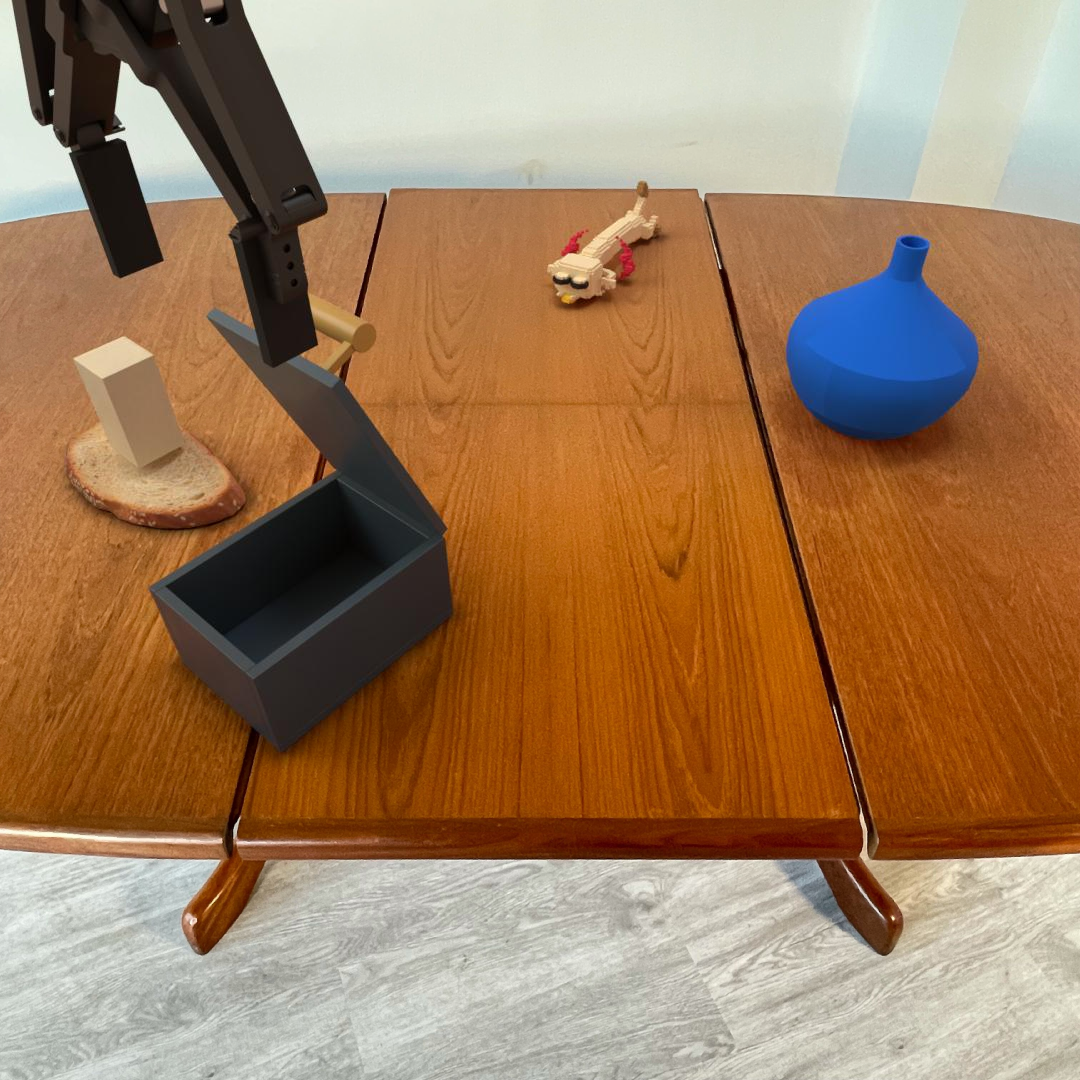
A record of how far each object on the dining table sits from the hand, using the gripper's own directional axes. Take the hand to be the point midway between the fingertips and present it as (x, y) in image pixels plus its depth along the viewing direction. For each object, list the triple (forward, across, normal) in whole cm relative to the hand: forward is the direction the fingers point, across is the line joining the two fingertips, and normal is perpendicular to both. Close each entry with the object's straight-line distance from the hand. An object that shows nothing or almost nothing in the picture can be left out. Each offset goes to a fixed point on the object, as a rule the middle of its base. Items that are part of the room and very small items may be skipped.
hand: (210, 308), depth 46 cm
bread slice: (+33, +33, -6) cm, 47 cm away
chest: (+33, +4, -3) cm, 33 cm away
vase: (+33, -15, -61) cm, 71 cm away
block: (+29, +33, -6) cm, 45 cm away
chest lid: (+15, +4, -8) cm, 17 cm away
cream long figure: (+33, +26, -69) cm, 81 cm away
